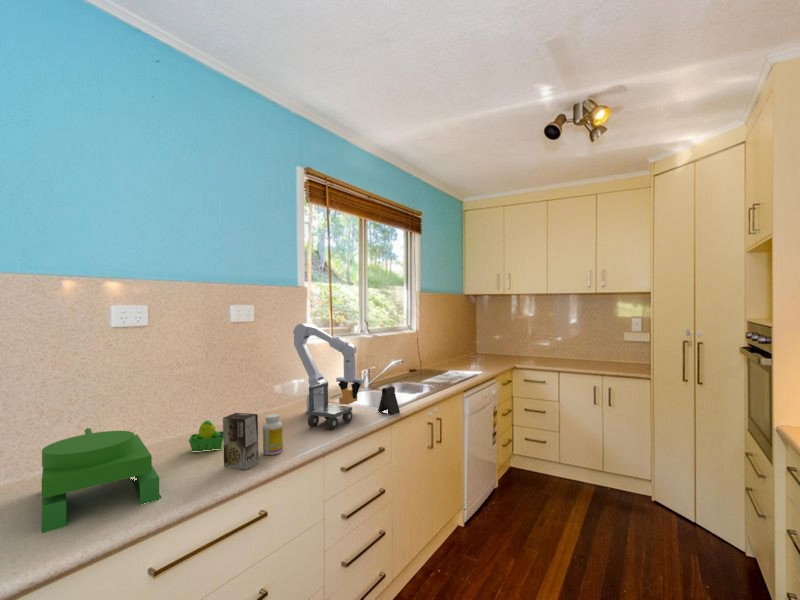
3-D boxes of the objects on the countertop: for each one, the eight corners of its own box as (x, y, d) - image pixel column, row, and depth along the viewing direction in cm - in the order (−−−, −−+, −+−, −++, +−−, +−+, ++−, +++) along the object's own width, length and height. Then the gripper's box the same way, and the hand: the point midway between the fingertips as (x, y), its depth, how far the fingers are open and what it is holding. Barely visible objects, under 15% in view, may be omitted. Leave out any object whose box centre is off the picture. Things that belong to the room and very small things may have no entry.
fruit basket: (225, 444, 151) (225, 414, 152) (223, 452, 143) (222, 420, 143) (192, 448, 148) (191, 417, 148) (187, 456, 139) (187, 423, 139)
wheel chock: (339, 403, 190) (338, 391, 190) (348, 399, 197) (348, 387, 197) (348, 404, 187) (347, 391, 187) (357, 400, 194) (356, 388, 194)
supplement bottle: (286, 450, 143) (286, 414, 143) (273, 456, 137) (273, 419, 137) (272, 448, 146) (271, 412, 146) (258, 454, 140) (258, 417, 140)
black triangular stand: (400, 412, 191) (399, 387, 191) (391, 415, 187) (390, 389, 187) (386, 409, 197) (386, 385, 198) (377, 412, 193) (377, 387, 193)
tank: (141, 465, 135) (141, 416, 135) (161, 500, 108) (161, 439, 108) (44, 487, 119) (44, 431, 119) (40, 535, 92) (39, 463, 93)
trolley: (308, 414, 172) (307, 387, 172) (326, 407, 183) (326, 381, 184) (334, 418, 166) (334, 389, 166) (352, 410, 177) (351, 384, 177)
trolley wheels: (307, 427, 170) (307, 415, 170) (330, 417, 184) (330, 406, 184) (330, 431, 165) (330, 418, 165) (352, 420, 179) (352, 409, 179)
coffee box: (259, 463, 132) (258, 413, 132) (246, 470, 126) (245, 419, 126) (237, 460, 135) (236, 411, 135) (222, 467, 129) (222, 417, 129)
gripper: (332, 369, 193) (332, 397, 193) (357, 371, 187) (358, 400, 186) (340, 367, 200) (341, 395, 199) (365, 369, 193) (366, 397, 193)
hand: (350, 397), depth 193 cm, fingers closed on wheel chock, 5 cm apart
